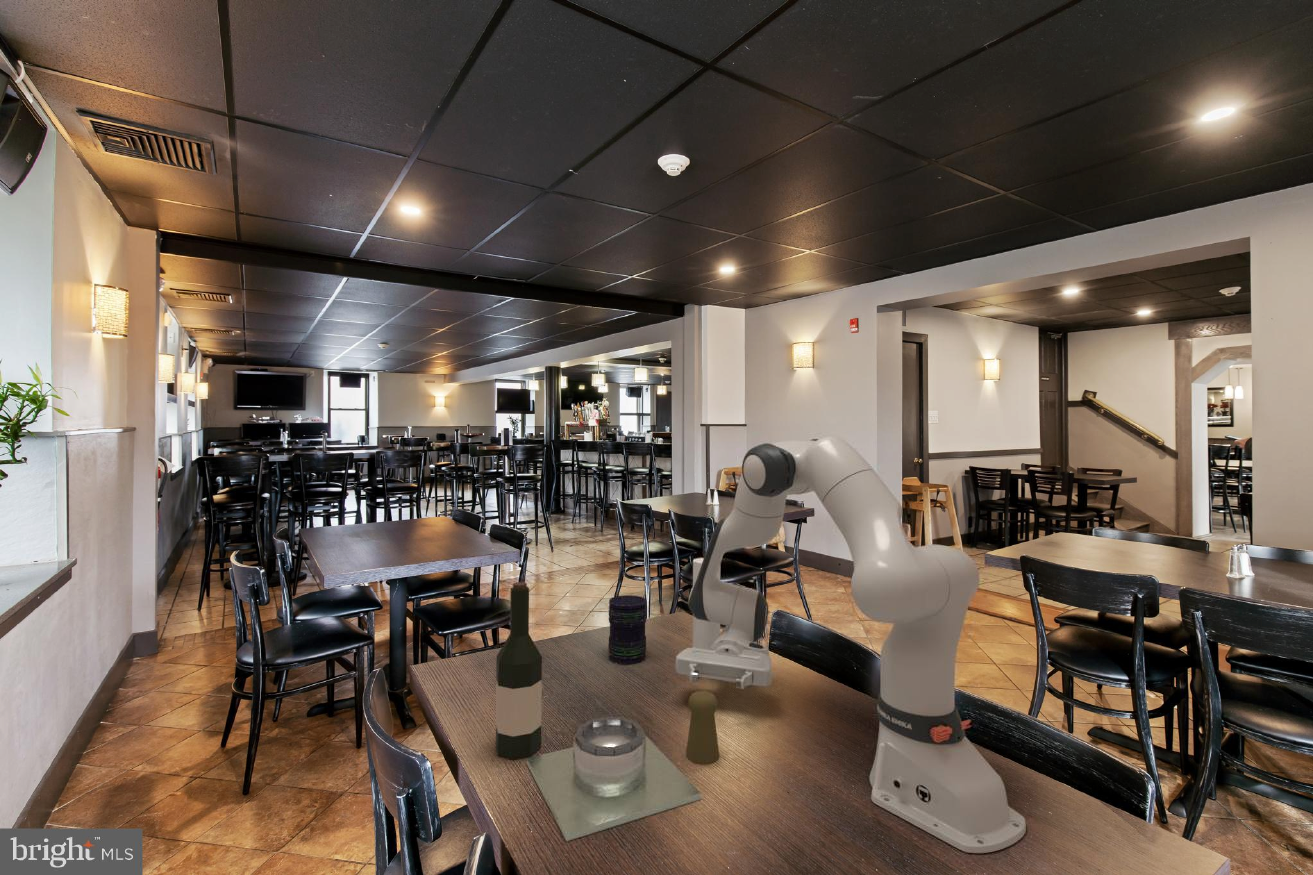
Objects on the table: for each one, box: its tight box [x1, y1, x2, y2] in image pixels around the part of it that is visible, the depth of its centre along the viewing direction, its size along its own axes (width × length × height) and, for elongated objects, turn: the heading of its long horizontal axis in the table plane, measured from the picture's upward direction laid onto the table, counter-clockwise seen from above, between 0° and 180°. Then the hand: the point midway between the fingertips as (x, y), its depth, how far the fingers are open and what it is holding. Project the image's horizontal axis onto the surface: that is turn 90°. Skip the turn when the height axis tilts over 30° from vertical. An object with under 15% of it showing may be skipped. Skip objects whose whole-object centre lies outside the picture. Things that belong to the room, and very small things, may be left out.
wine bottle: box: [495, 581, 543, 761], centre depth 107 cm, size 8×8×30 cm
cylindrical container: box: [692, 557, 721, 650], centre depth 154 cm, size 7×7×25 cm
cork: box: [685, 690, 720, 765], centre depth 105 cm, size 6×6×11 cm
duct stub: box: [526, 716, 702, 842], centre depth 97 cm, size 22×22×8 cm
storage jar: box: [608, 594, 648, 666], centre depth 152 cm, size 10×10×15 cm
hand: (716, 681), depth 117 cm, fingers open, 8 cm apart
